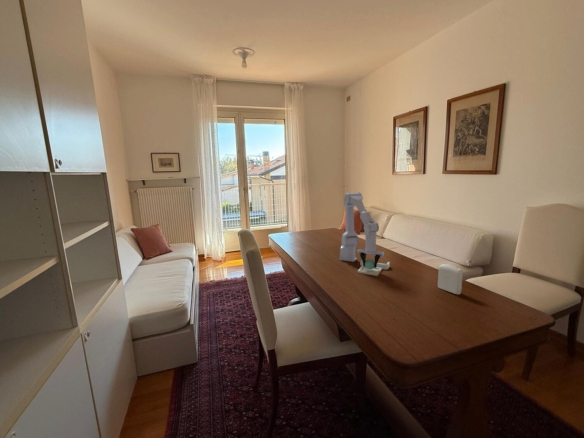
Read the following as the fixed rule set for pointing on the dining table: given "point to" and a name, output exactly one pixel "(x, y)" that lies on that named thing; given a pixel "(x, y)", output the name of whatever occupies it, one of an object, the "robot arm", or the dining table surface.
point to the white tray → (370, 270)
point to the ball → (369, 264)
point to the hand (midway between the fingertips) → (369, 266)
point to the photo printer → (450, 278)
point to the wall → (380, 265)
